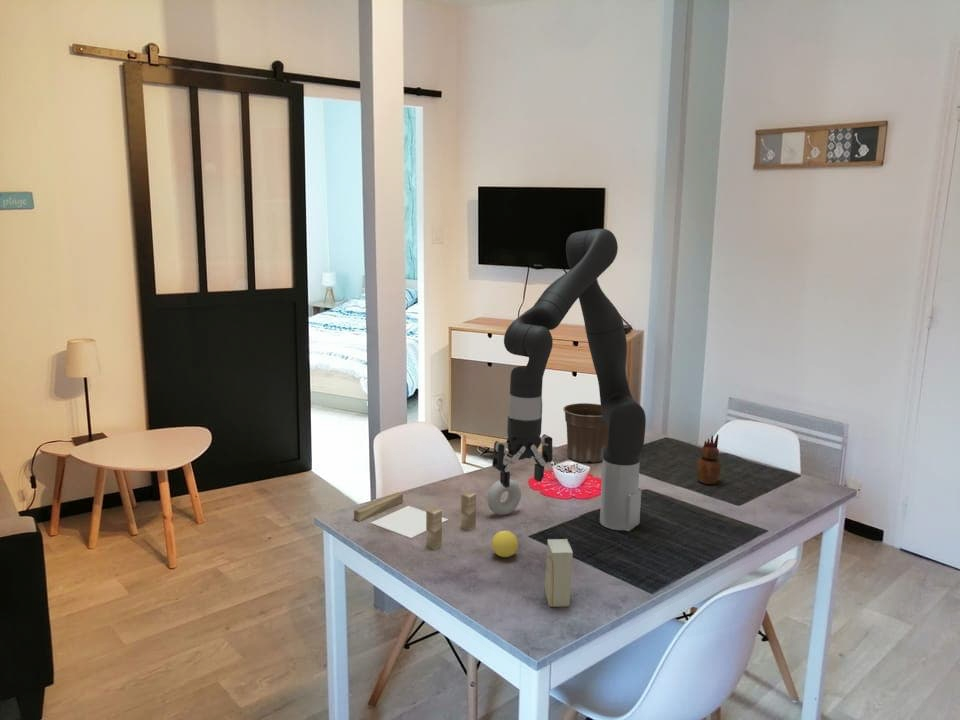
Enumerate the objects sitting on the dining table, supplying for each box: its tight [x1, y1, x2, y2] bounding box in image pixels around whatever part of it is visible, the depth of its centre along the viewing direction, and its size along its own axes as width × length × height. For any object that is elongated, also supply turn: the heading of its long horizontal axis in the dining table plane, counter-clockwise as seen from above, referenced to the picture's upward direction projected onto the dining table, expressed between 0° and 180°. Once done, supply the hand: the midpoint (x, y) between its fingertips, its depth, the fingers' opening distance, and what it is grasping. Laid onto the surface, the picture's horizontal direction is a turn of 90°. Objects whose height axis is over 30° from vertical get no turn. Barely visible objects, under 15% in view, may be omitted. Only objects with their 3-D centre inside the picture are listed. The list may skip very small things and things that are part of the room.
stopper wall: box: [353, 492, 404, 523], centre depth 198 cm, size 2×16×2 cm, turn 142°
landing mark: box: [370, 505, 449, 539], centre depth 192 cm, size 14×14×1 cm
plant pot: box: [563, 402, 609, 464], centre depth 241 cm, size 16×16×16 cm
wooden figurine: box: [695, 434, 722, 485], centre depth 220 cm, size 7×6×15 cm
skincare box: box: [544, 538, 574, 608], centre depth 154 cm, size 6×4×12 cm
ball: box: [491, 530, 519, 558], centre depth 173 cm, size 6×6×6 cm
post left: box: [425, 507, 443, 550], centre depth 178 cm, size 3×3×9 cm
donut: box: [486, 478, 522, 516], centre depth 196 cm, size 10×4×10 cm, turn 122°
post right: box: [460, 491, 477, 532], centre depth 188 cm, size 3×3×9 cm
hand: (521, 483), depth 168 cm, fingers open, 8 cm apart
